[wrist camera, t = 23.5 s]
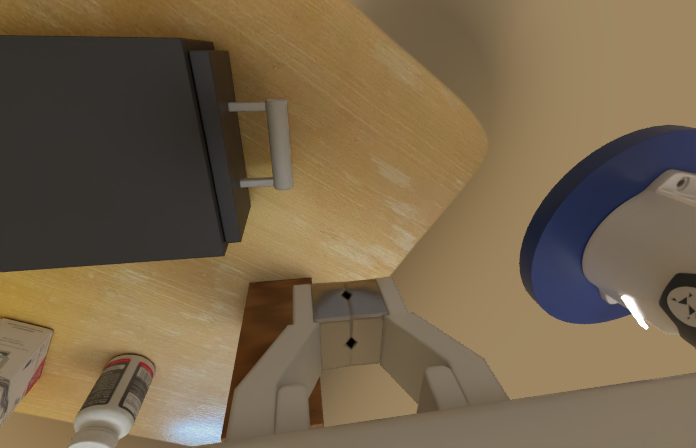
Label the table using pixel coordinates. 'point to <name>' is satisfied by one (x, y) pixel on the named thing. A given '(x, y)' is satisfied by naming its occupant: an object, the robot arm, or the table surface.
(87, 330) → the table surface
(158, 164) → the dark grey square case
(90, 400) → the pill bottle
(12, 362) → the ink box
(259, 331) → the stand
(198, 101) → the drawer
